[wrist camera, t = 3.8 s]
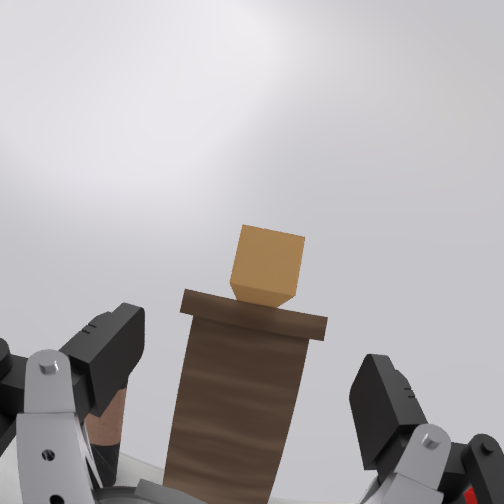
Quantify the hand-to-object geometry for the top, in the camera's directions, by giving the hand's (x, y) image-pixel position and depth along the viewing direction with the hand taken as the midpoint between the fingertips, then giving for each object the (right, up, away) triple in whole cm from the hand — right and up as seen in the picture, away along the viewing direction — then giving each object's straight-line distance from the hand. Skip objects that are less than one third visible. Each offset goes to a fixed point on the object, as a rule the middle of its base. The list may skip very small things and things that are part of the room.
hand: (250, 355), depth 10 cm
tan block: (0, -1, +17) cm, 17 cm away
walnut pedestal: (-6, -33, +14) cm, 36 cm away
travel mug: (-24, -31, +20) cm, 44 cm away
